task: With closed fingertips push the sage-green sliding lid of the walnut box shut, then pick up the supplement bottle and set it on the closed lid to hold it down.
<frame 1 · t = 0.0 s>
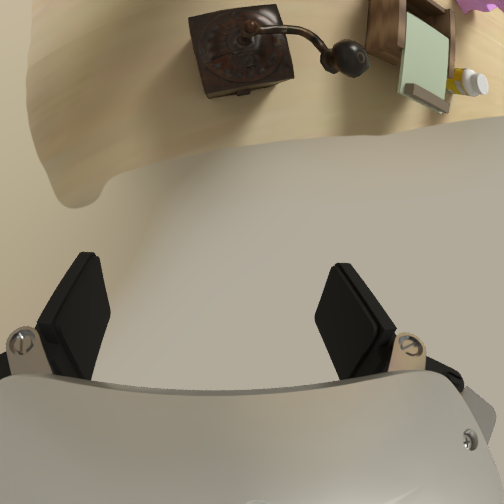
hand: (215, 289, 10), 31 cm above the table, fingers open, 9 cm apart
supplement bottle: (446, 80, 33), on the table
brown manual coffee grinder: (252, 57, 31), on the table
box: (396, 31, 28), on the table
lid: (430, 62, 24), point 10 cm above the table, slide at 7.0 cm
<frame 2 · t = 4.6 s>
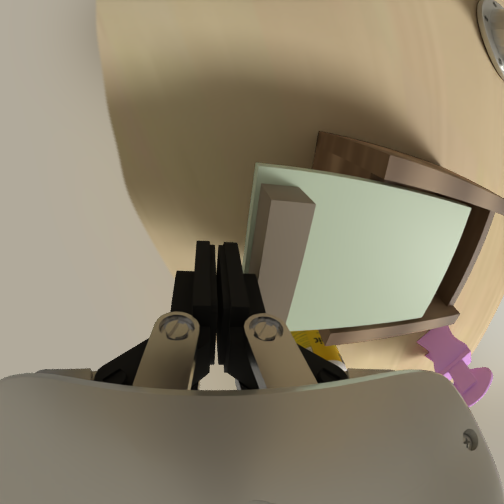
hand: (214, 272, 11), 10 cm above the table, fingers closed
supplement bottle: (300, 329, 29), on the table
box: (375, 213, 22), on the table
lid: (379, 273, 13), point 9 cm above the table, slide at 5.8 cm, touching gripper
toy chair: (434, 337, 36), on the table
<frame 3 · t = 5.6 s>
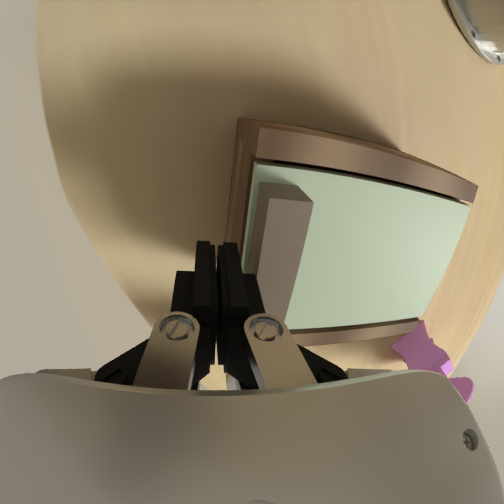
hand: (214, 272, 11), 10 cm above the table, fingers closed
box: (317, 205, 21), on the table
lid: (378, 272, 13), point 9 cm above the table, slide at -0.1 cm, touching gripper
toy chair: (412, 342, 35), on the table
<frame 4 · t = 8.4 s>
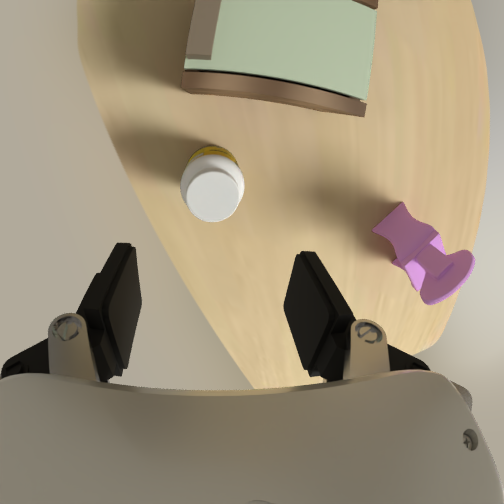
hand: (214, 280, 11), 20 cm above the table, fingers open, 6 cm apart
supplement bottle: (212, 168, 28), on the table
box: (267, 48, 22), on the table
lid: (293, 24, 13), point 9 cm above the table, slide at 0.0 cm
toy chair: (397, 234, 36), on the table
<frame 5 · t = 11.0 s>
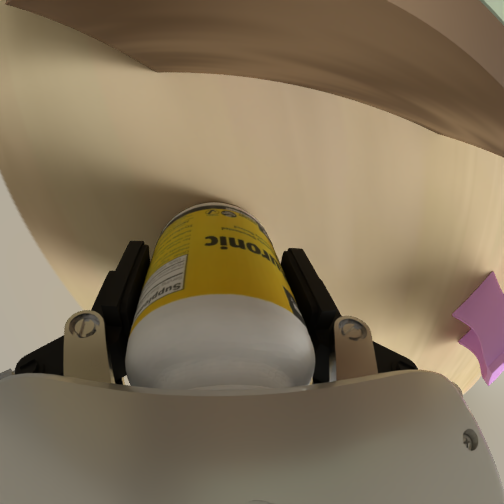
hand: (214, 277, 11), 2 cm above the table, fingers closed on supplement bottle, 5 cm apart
supplement bottle: (213, 250, 13), on the table, touching gripper
toy chair: (474, 310, 21), on the table
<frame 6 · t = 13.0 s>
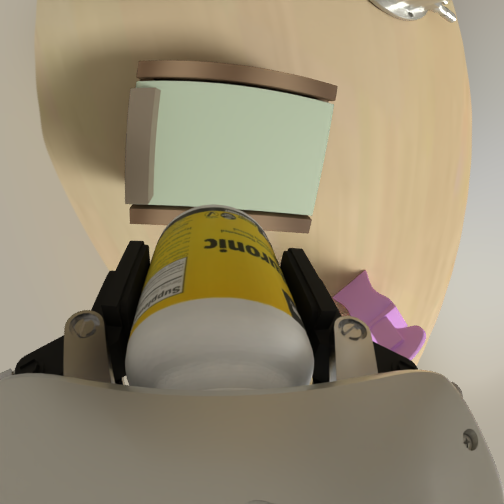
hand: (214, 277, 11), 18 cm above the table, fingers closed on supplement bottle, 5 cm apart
supplement bottle: (213, 252, 13), point 16 cm above the table, touching gripper
box: (222, 137, 25), on the table
lid: (231, 148, 17), point 10 cm above the table, slide at 0.0 cm
toy chair: (360, 297, 39), on the table
when the fingers open (12 cm above the table, at t = 15.0 s): supplement bottle drops 1 cm, resting on lid.
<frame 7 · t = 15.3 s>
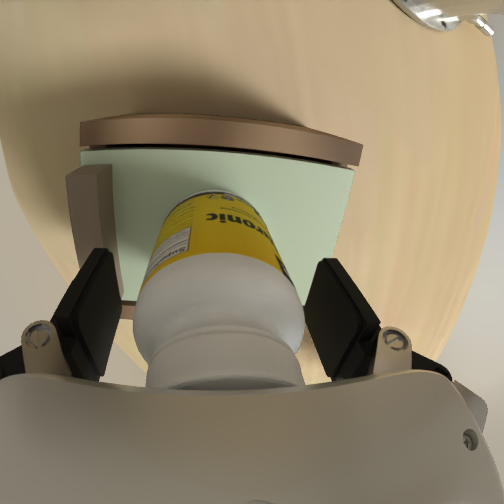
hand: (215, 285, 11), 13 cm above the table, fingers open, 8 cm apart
supplement bottle: (213, 235, 14), point 9 cm above the table, touching lid
box: (212, 188, 22), on the table
lid: (212, 244, 13), point 9 cm above the table, slide at 0.1 cm, touching supplement bottle
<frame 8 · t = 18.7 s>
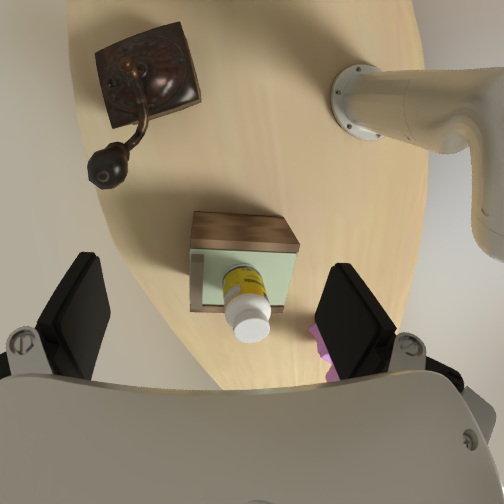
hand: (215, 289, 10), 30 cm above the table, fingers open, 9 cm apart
supplement bottle: (241, 278, 37), point 9 cm above the table, touching lid
brown manual coffee grinder: (161, 97, 31), on the table
box: (235, 248, 44), on the table
lid: (241, 282, 36), point 9 cm above the table, slide at 0.0 cm, touching supplement bottle
toy chair: (327, 328, 59), on the table
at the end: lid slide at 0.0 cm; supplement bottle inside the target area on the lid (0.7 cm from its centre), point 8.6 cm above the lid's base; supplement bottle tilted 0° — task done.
